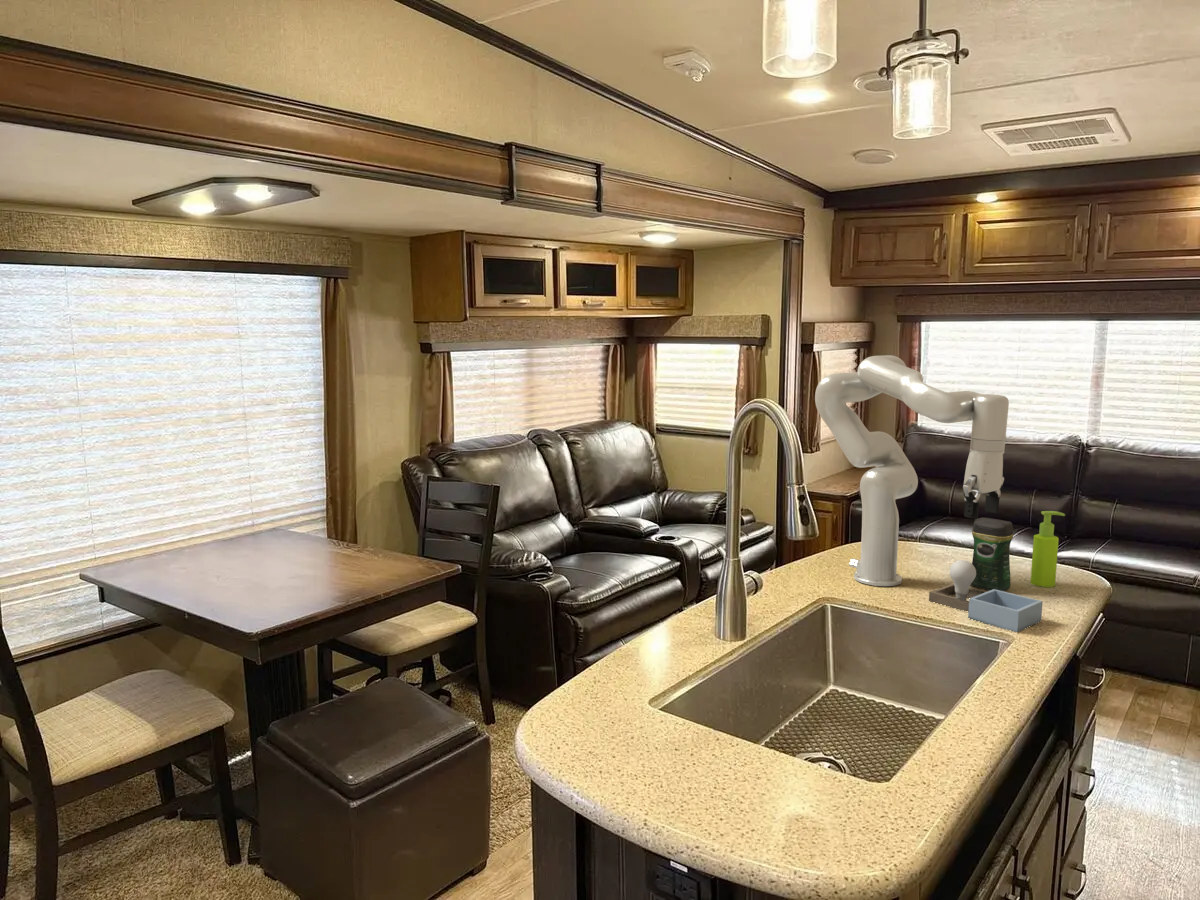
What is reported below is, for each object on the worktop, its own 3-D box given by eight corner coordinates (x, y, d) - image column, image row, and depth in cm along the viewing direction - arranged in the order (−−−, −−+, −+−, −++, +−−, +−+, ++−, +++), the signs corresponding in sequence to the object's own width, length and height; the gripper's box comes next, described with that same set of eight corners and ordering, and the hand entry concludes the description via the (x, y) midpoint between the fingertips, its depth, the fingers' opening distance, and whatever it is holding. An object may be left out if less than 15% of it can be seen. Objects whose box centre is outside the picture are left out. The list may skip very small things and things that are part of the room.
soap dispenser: (1062, 588, 217) (1068, 514, 214) (1034, 586, 218) (1039, 513, 216) (1054, 581, 223) (1060, 509, 220) (1027, 580, 224) (1032, 508, 221)
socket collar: (928, 601, 207) (929, 591, 207) (951, 592, 214) (952, 583, 213) (970, 613, 199) (971, 603, 198) (993, 603, 205) (994, 594, 205)
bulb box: (968, 618, 195) (969, 598, 194) (992, 608, 202) (993, 589, 201) (1017, 632, 186) (1018, 611, 185) (1041, 621, 192) (1042, 601, 192)
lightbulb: (943, 599, 209) (945, 557, 207) (966, 598, 209) (968, 556, 208) (955, 607, 203) (958, 564, 201) (979, 606, 203) (981, 563, 202)
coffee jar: (1014, 588, 217) (1019, 520, 215) (1001, 594, 212) (1005, 524, 210) (978, 579, 225) (982, 513, 222) (964, 585, 220) (968, 518, 217)
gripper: (990, 440, 205) (984, 507, 208) (953, 447, 195) (947, 516, 198) (1020, 444, 199) (1013, 512, 202) (984, 451, 189) (977, 523, 192)
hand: (981, 514), depth 200 cm, fingers open, 9 cm apart
